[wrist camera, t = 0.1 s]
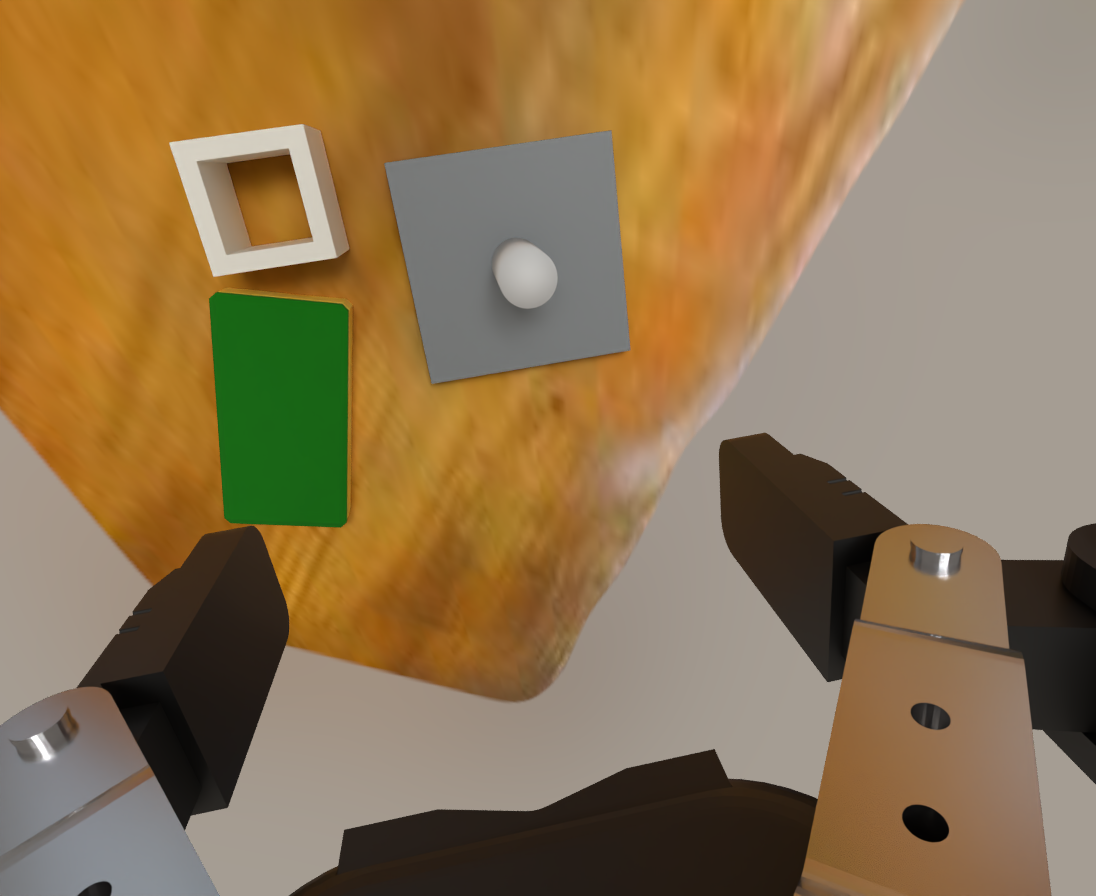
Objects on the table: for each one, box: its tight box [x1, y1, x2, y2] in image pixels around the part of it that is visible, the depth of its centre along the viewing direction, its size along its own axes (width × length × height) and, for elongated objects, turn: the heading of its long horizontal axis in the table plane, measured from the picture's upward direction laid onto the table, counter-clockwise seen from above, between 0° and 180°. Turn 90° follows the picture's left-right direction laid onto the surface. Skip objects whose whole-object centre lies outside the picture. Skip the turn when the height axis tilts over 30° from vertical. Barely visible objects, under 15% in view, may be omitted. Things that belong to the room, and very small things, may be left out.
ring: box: [169, 124, 350, 277], centre depth 33 cm, size 6×6×4 cm
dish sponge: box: [209, 287, 353, 527], centre depth 39 cm, size 7×14×2 cm, turn 173°
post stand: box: [384, 131, 630, 384], centre depth 34 cm, size 12×12×8 cm
